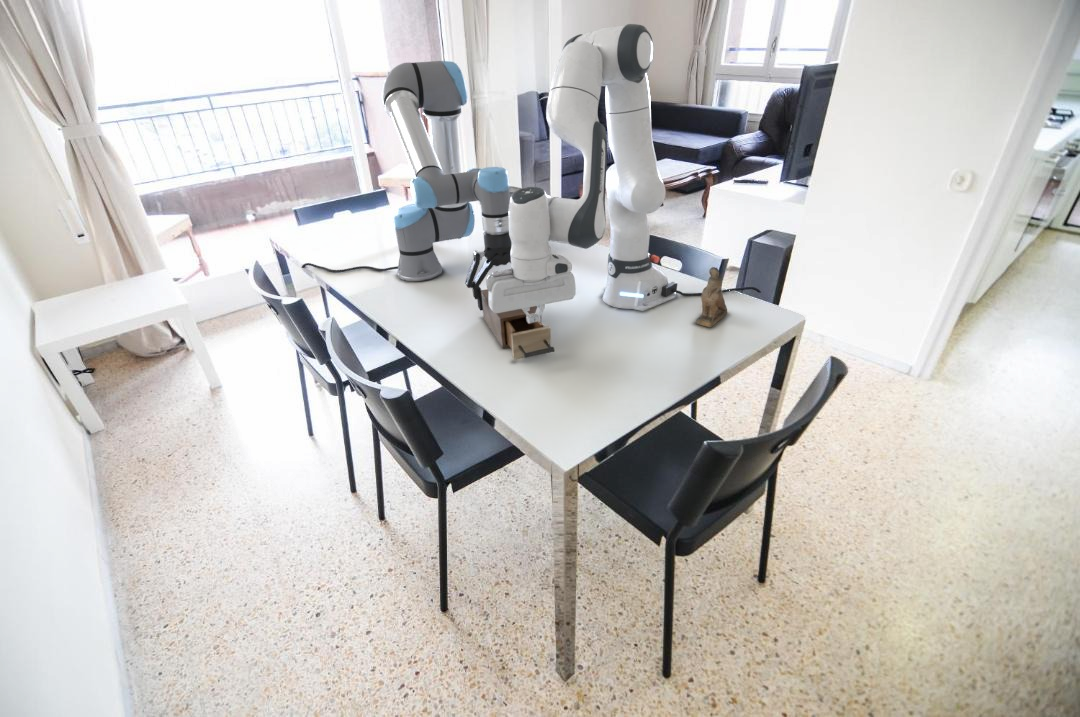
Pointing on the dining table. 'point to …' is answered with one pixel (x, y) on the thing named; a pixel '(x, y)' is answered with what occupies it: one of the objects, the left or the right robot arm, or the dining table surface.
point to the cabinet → (500, 318)
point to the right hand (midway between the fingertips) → (533, 321)
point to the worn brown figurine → (712, 301)
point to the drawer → (527, 338)
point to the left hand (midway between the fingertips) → (503, 304)
